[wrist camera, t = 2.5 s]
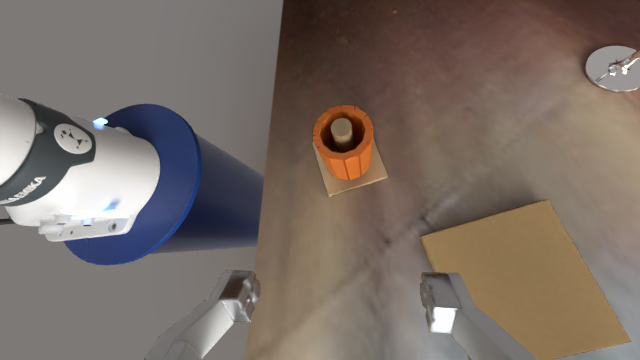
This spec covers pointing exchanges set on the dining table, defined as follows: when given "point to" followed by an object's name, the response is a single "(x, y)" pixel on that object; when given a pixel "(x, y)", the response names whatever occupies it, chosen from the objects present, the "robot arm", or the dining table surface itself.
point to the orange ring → (362, 129)
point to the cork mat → (529, 280)
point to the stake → (344, 144)
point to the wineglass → (614, 68)
